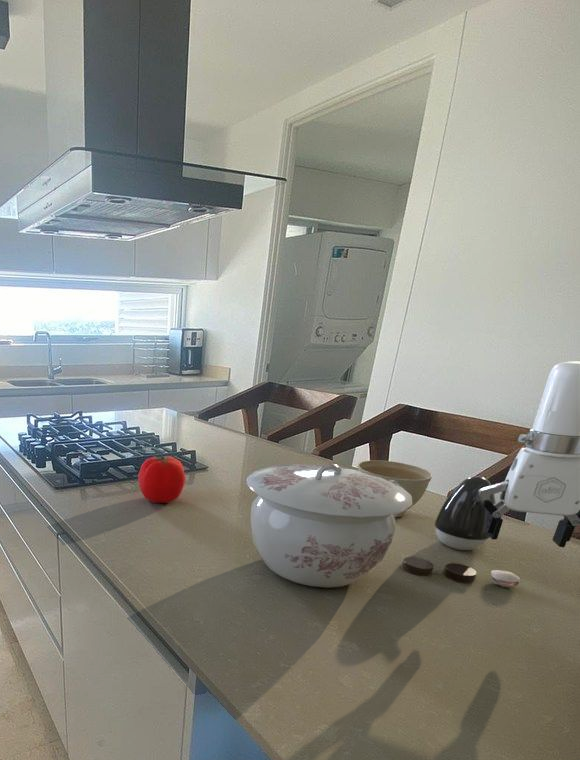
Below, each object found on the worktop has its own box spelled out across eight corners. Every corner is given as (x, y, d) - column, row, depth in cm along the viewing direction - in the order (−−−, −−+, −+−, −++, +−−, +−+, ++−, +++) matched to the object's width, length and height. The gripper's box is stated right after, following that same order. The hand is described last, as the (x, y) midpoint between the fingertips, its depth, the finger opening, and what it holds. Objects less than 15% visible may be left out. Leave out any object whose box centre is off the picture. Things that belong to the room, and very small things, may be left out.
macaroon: (499, 590, 87) (503, 577, 86) (479, 576, 91) (483, 564, 90) (522, 590, 87) (527, 577, 86) (501, 576, 91) (505, 564, 90)
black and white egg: (493, 559, 98) (520, 487, 92) (435, 551, 101) (457, 481, 95) (478, 539, 107) (501, 472, 100) (425, 532, 110) (444, 467, 103)
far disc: (429, 566, 95) (431, 559, 94) (433, 577, 90) (435, 570, 90) (400, 561, 96) (402, 554, 96) (403, 572, 92) (405, 565, 91)
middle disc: (470, 572, 92) (472, 565, 92) (477, 585, 88) (479, 577, 88) (440, 568, 94) (442, 561, 93) (445, 579, 90) (448, 572, 89)
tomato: (127, 501, 125) (128, 457, 120) (155, 488, 135) (156, 447, 130) (168, 511, 118) (170, 466, 114) (194, 497, 129) (197, 454, 124)
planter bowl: (394, 528, 112) (406, 483, 107) (335, 506, 124) (344, 465, 120) (434, 516, 119) (446, 473, 115) (374, 496, 132) (384, 457, 127)
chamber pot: (223, 588, 85) (236, 475, 77) (248, 531, 109) (260, 439, 100) (400, 624, 76) (437, 500, 68) (386, 553, 100) (412, 454, 91)
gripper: (500, 444, 78) (472, 542, 85) (638, 452, 72) (596, 556, 79) (487, 435, 84) (462, 526, 91) (613, 442, 78) (576, 538, 85)
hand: (524, 540), depth 85 cm, fingers open, 9 cm apart
